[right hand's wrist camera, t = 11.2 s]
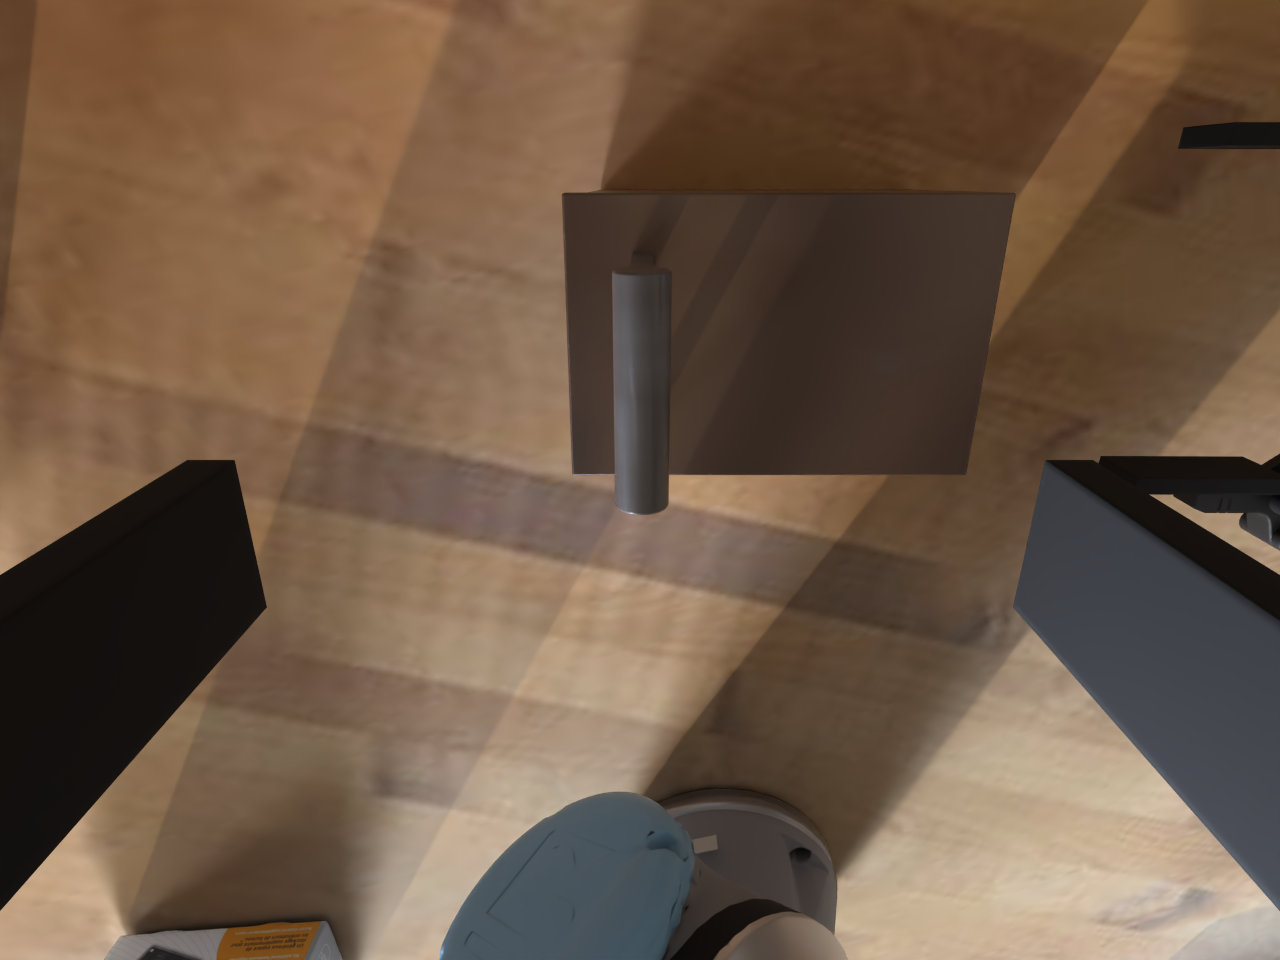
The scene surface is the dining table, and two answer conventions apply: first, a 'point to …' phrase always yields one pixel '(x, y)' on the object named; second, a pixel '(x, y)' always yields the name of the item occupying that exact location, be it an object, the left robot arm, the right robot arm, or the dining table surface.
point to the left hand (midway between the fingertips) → (1155, 319)
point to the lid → (776, 333)
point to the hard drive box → (233, 944)
